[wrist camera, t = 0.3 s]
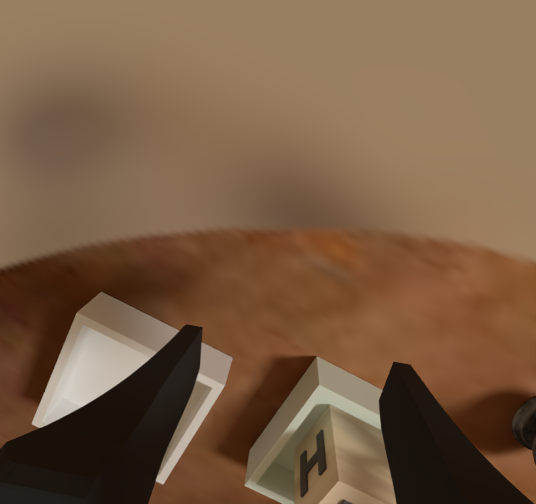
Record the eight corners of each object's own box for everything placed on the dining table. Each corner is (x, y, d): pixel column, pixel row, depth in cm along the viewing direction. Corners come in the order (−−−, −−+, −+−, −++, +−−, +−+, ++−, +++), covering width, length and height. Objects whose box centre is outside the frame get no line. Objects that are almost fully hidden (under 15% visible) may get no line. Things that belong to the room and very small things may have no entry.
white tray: (176, 449, 29) (163, 484, 27) (57, 394, 28) (31, 424, 26) (232, 357, 26) (224, 385, 23) (101, 291, 25) (76, 312, 22)
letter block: (388, 433, 27) (414, 519, 21) (351, 476, 28) (365, 567, 22) (327, 402, 26) (336, 482, 20) (292, 448, 28) (291, 533, 22)
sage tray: (359, 503, 30) (366, 542, 27) (249, 450, 29) (244, 485, 26) (438, 418, 27) (454, 453, 24) (316, 356, 26) (319, 384, 23)
